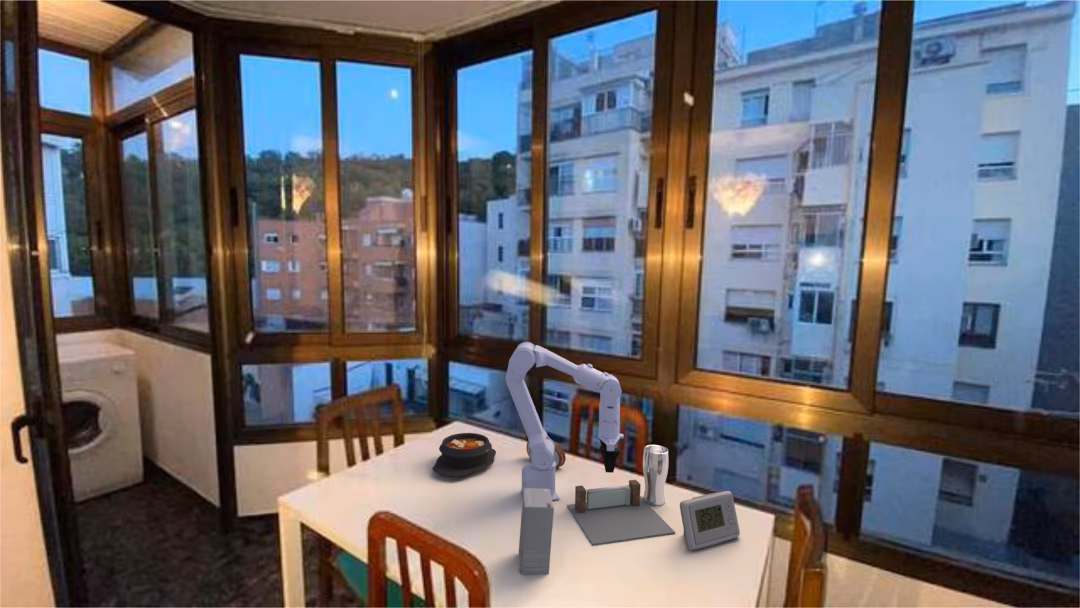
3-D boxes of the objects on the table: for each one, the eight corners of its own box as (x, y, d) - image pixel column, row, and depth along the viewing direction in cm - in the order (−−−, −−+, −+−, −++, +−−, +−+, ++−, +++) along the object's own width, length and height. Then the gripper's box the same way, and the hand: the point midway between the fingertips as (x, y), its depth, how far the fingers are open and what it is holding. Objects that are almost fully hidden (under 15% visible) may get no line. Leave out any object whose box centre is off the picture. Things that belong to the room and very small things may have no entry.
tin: (565, 470, 158) (566, 444, 157) (559, 473, 155) (560, 447, 154) (530, 457, 167) (531, 433, 167) (524, 459, 165) (525, 435, 164)
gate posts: (578, 514, 130) (579, 491, 130) (574, 509, 133) (575, 486, 132) (639, 507, 135) (640, 484, 134) (634, 501, 138) (635, 479, 137)
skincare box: (518, 552, 113) (519, 486, 111) (549, 551, 114) (550, 486, 112) (519, 576, 105) (521, 505, 103) (553, 575, 105) (554, 504, 104)
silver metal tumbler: (664, 495, 142) (666, 445, 140) (668, 507, 135) (670, 454, 134) (640, 493, 143) (642, 443, 141) (642, 505, 136) (645, 453, 134)
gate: (588, 509, 131) (589, 491, 131) (585, 506, 133) (586, 487, 133) (629, 504, 135) (630, 486, 134) (626, 501, 136) (627, 483, 136)
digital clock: (687, 553, 114) (689, 510, 113) (669, 532, 123) (671, 491, 122) (748, 546, 118) (751, 503, 116) (726, 526, 126) (729, 486, 125)
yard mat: (592, 545, 116) (592, 543, 116) (567, 506, 135) (567, 504, 135) (675, 533, 122) (675, 532, 122) (640, 497, 140) (640, 496, 140)
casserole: (469, 487, 144) (469, 460, 144) (417, 475, 152) (417, 448, 151) (508, 456, 167) (509, 433, 166) (462, 447, 175) (462, 424, 174)
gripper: (626, 428, 130) (625, 478, 131) (621, 411, 144) (620, 456, 145) (599, 427, 130) (598, 477, 132) (597, 410, 145) (596, 455, 146)
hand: (608, 466), depth 138 cm, fingers open, 7 cm apart
